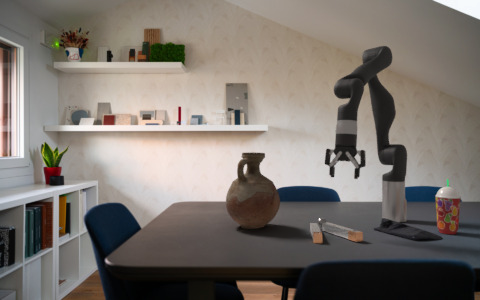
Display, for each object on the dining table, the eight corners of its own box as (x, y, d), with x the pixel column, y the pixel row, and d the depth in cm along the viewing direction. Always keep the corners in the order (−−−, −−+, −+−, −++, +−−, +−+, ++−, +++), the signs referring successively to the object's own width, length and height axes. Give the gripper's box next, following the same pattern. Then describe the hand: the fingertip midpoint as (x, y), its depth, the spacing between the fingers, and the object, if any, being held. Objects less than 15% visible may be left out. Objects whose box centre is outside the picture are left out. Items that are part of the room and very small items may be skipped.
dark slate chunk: (409, 243, 127) (409, 229, 127) (370, 230, 148) (370, 218, 148) (446, 240, 131) (447, 227, 131) (403, 227, 152) (403, 216, 152)
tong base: (309, 228, 148) (309, 217, 148) (325, 229, 147) (325, 217, 147) (313, 243, 125) (313, 229, 125) (333, 243, 125) (333, 230, 125)
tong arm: (322, 230, 143) (322, 222, 143) (328, 229, 145) (328, 222, 145) (356, 241, 126) (356, 232, 126) (362, 241, 127) (362, 232, 127)
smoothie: (457, 231, 143) (458, 178, 143) (463, 236, 135) (463, 180, 135) (433, 229, 146) (433, 178, 146) (437, 234, 138) (437, 179, 138)
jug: (287, 224, 156) (287, 152, 156) (268, 235, 137) (268, 152, 136) (239, 220, 165) (239, 152, 165) (216, 230, 146) (215, 152, 146)
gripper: (368, 134, 137) (366, 179, 137) (330, 134, 144) (328, 176, 144) (363, 132, 131) (361, 179, 130) (324, 132, 138) (321, 176, 138)
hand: (343, 178), depth 137 cm, fingers open, 8 cm apart
